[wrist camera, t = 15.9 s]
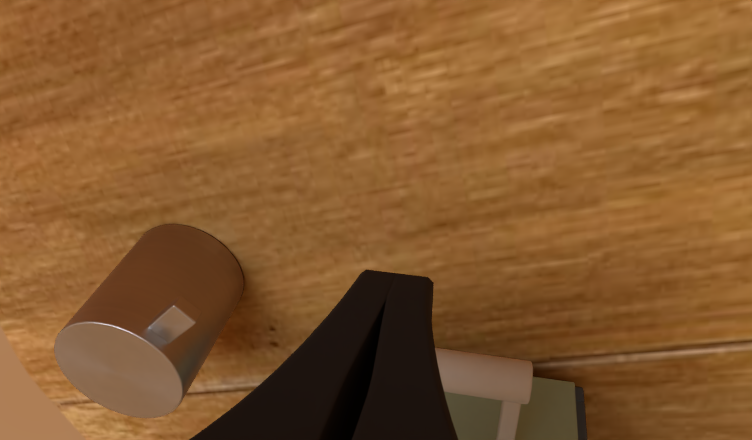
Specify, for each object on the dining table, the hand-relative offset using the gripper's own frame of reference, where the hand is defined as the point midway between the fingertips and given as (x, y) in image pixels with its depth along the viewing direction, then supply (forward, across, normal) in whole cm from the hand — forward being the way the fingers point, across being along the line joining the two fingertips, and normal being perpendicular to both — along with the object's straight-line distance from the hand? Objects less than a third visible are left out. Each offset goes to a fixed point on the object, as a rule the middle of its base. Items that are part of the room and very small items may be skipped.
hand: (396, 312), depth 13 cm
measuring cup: (+10, +11, +9) cm, 18 cm away
